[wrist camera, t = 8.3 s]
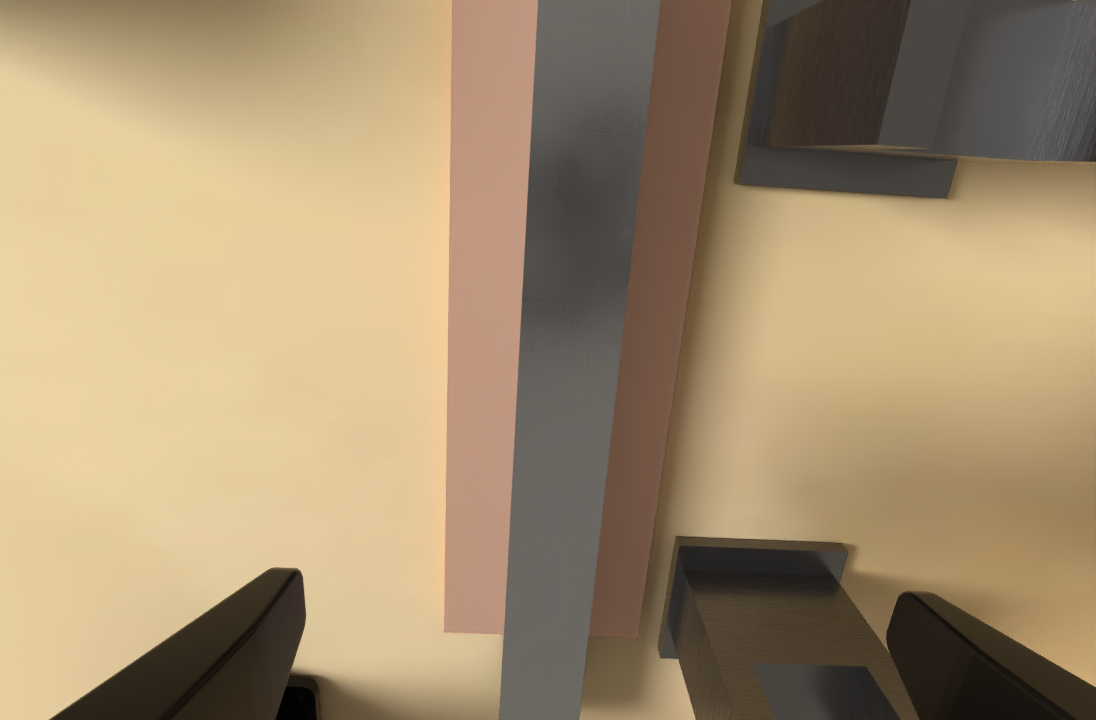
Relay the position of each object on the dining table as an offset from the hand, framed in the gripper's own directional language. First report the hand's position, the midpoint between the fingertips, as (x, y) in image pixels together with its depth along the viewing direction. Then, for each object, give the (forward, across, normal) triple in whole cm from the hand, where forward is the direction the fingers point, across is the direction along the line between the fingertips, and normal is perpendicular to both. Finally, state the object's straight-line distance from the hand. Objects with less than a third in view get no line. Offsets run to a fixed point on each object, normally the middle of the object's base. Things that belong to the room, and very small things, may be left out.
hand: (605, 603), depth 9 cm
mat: (+10, 0, -2) cm, 11 cm away
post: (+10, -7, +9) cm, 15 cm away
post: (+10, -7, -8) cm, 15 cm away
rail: (+10, 0, 0) cm, 10 cm away
